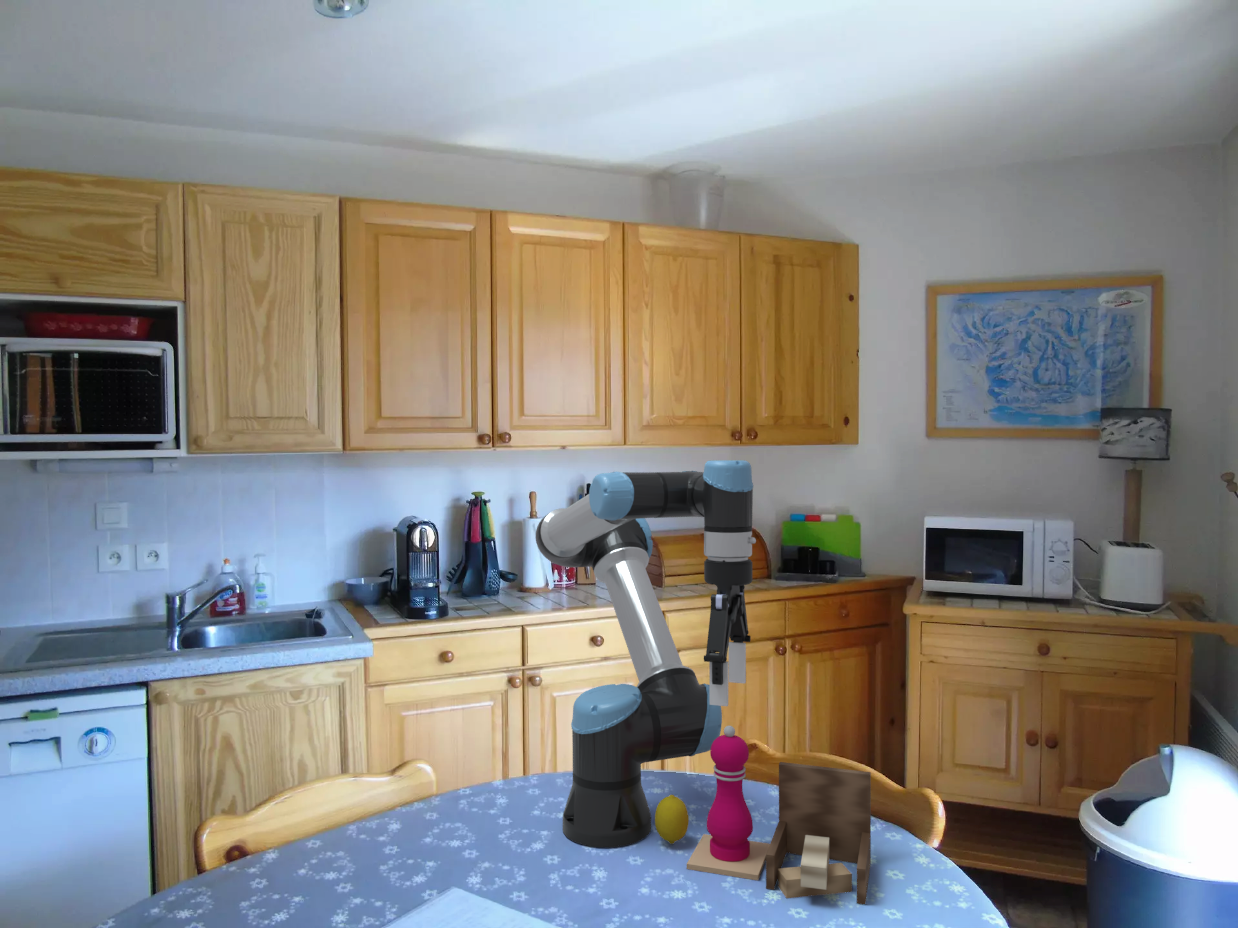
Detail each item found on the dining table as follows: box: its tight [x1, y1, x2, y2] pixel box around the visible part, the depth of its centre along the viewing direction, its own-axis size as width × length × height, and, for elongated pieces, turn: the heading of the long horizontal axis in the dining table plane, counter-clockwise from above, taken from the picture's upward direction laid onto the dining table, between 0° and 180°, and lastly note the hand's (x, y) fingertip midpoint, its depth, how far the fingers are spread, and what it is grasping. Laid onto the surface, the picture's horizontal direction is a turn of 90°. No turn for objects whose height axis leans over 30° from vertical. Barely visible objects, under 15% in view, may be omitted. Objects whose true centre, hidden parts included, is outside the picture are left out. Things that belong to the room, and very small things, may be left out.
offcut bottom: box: [777, 862, 853, 899], centre depth 124 cm, size 10×4×3 cm, turn 100°
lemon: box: [654, 794, 690, 845], centre depth 139 cm, size 6×6×8 cm
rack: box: [765, 761, 872, 905], centre depth 128 cm, size 14×14×14 cm
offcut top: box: [800, 835, 830, 890], centre depth 124 cm, size 10×4×3 cm, turn 164°
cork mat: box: [686, 833, 770, 881], centre depth 134 cm, size 11×11×1 cm
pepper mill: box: [706, 725, 754, 862], centre depth 134 cm, size 7×7×20 cm
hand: (728, 693), depth 134 cm, fingers open, 13 cm apart
